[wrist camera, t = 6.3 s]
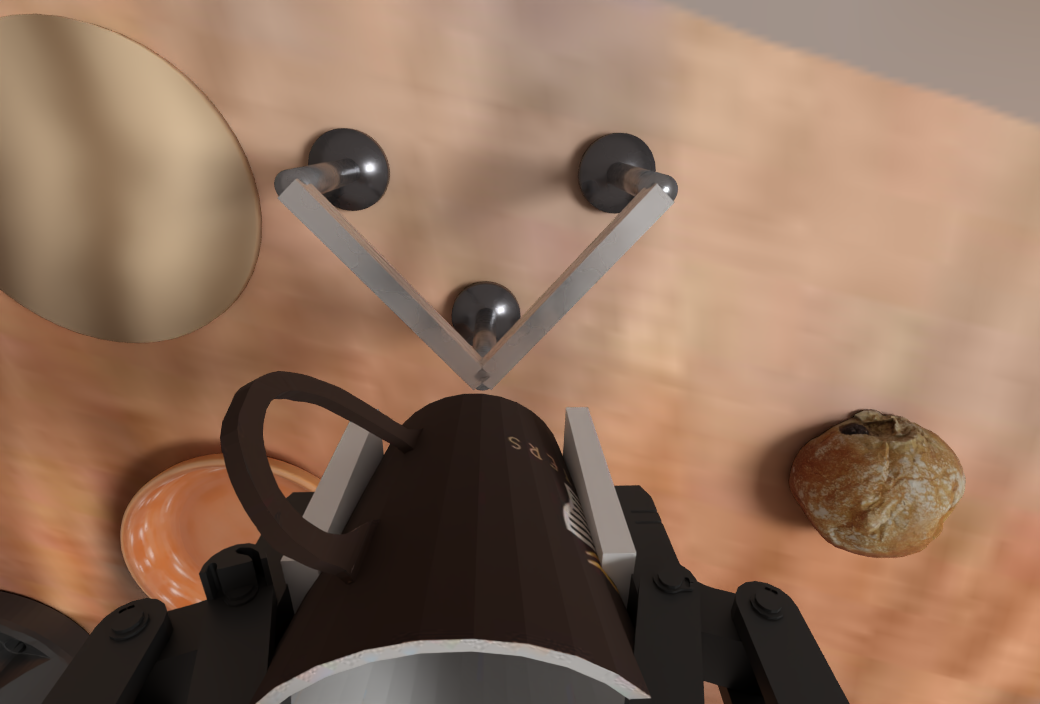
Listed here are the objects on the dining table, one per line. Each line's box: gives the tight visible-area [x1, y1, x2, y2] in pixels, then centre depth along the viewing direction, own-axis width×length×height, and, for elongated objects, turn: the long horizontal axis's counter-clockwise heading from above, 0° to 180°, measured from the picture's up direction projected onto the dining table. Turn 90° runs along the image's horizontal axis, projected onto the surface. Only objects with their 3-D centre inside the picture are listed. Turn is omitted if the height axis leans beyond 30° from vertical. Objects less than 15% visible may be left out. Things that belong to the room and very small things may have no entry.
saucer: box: [120, 453, 321, 611], centre depth 35 cm, size 16×16×3 cm
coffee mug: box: [220, 371, 651, 704], centre depth 13 cm, size 12×9×10 cm
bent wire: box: [274, 128, 678, 390], centre depth 24 cm, size 18×12×9 cm, turn 89°
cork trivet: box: [0, 14, 262, 343], centre depth 26 cm, size 16×16×1 cm
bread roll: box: [789, 410, 966, 558], centre depth 34 cm, size 10×10×8 cm
